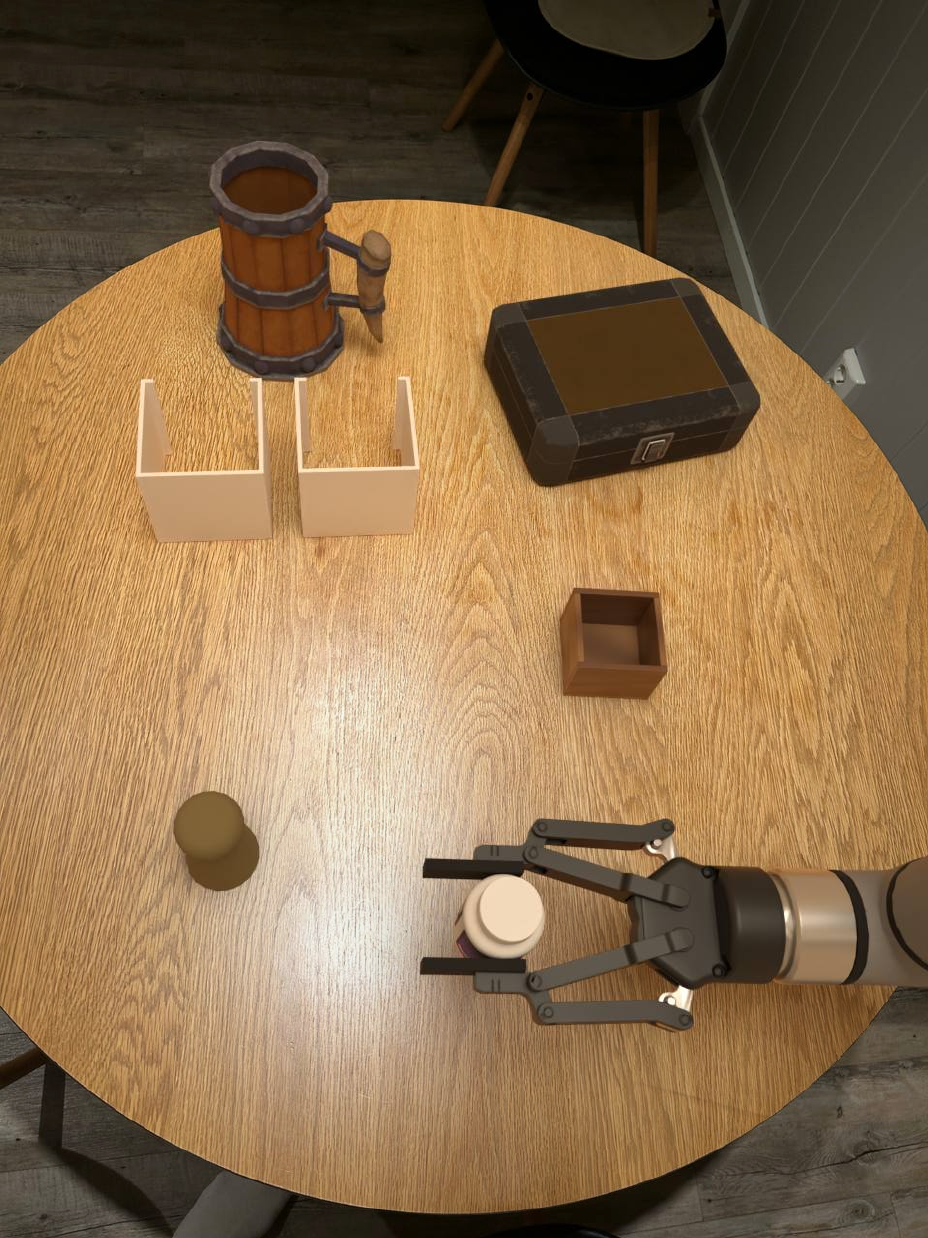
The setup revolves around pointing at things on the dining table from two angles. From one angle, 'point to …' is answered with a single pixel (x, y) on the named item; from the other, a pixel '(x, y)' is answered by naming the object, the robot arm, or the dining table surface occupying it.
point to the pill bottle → (499, 919)
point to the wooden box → (612, 643)
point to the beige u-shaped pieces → (244, 496)
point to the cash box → (617, 379)
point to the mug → (286, 264)
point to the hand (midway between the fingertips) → (423, 916)
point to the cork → (216, 841)
